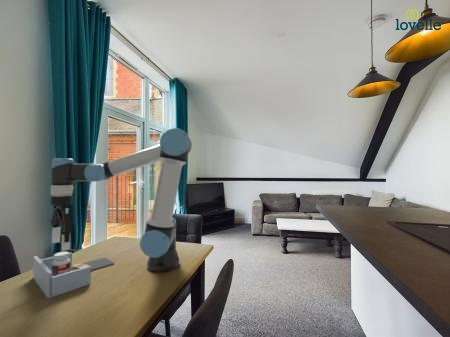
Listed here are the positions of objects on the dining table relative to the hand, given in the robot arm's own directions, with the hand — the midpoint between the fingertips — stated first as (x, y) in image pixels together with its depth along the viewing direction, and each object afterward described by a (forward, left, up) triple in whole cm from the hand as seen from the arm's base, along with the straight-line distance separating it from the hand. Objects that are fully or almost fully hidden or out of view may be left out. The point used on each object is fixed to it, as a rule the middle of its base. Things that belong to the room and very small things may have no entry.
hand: (60, 246), depth 95 cm
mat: (+6, -17, -14) cm, 23 cm away
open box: (0, 0, -14) cm, 14 cm away
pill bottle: (0, 0, -15) cm, 15 cm away
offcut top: (0, -7, -13) cm, 14 cm away
